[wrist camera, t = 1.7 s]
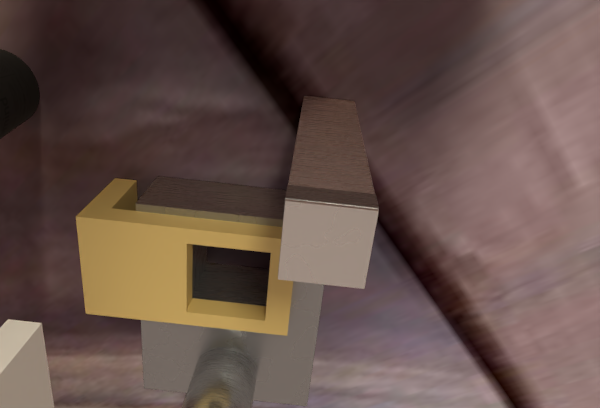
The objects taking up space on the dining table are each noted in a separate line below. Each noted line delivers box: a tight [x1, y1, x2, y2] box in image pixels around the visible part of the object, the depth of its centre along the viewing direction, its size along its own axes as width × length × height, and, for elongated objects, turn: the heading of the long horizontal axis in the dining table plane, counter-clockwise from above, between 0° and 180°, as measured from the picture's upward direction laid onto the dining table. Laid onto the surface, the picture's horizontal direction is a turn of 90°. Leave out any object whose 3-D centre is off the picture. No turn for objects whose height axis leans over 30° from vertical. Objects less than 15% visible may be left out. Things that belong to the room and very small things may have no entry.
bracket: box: [76, 178, 293, 336], centre depth 33 cm, size 7×13×6 cm, turn 84°
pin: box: [278, 96, 379, 289], centre depth 25 cm, size 3×3×16 cm
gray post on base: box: [136, 176, 324, 408], centre depth 29 cm, size 15×12×18 cm
